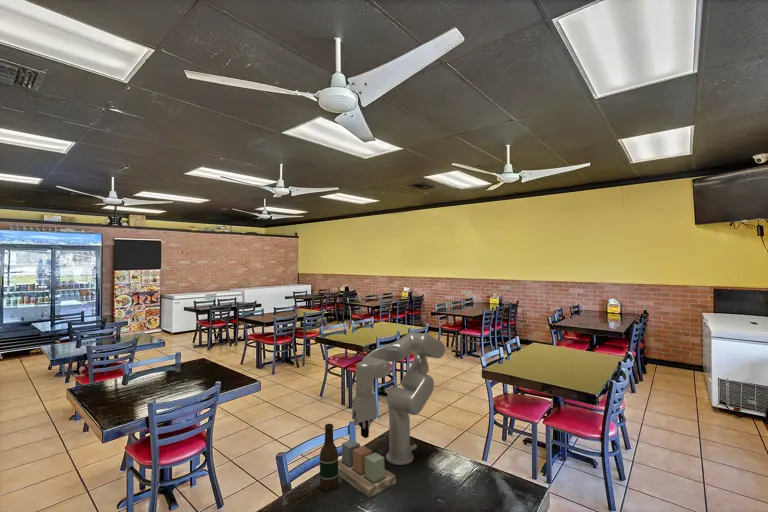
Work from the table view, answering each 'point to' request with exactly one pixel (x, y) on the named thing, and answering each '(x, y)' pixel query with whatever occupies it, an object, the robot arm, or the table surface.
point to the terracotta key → (360, 459)
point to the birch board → (365, 480)
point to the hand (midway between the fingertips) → (364, 436)
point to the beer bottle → (328, 461)
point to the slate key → (349, 452)
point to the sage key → (374, 467)
